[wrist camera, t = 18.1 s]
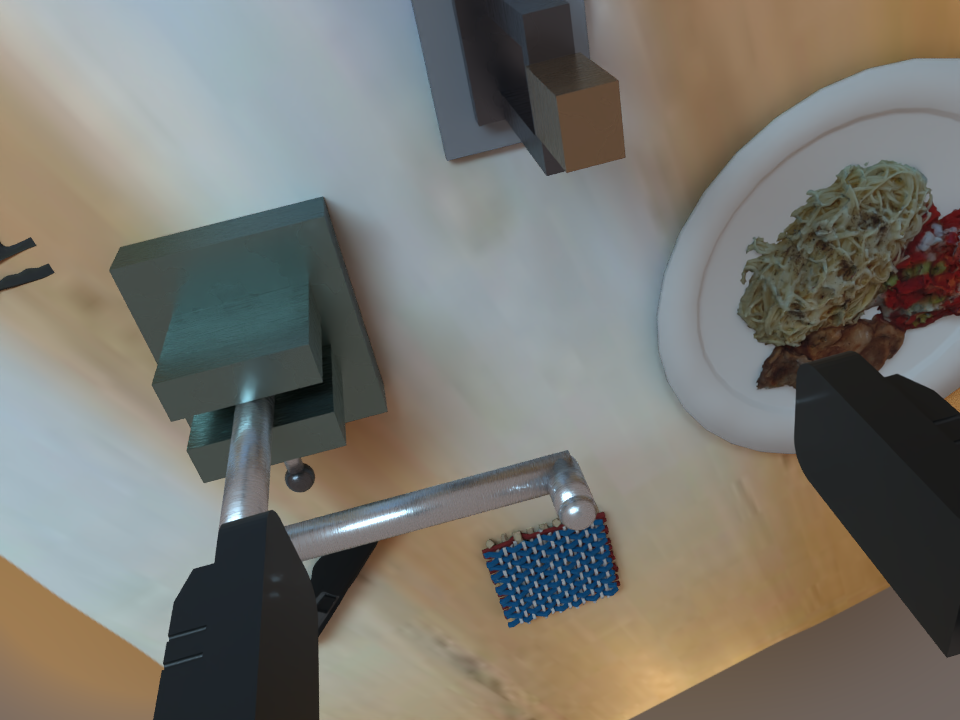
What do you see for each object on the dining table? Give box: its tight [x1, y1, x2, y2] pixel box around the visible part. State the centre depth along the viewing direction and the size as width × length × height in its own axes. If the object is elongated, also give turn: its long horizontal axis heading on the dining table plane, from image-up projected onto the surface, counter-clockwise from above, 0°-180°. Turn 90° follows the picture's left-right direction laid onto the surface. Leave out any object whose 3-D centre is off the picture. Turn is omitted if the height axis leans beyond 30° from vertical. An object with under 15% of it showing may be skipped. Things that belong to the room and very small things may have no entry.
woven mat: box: [482, 505, 620, 628], centre depth 66 cm, size 10×11×2 cm
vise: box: [109, 197, 597, 561], centre depth 40 cm, size 16×21×23 cm
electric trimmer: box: [311, 541, 378, 637], centre depth 62 cm, size 4×15×3 cm, turn 147°
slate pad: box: [411, 0, 590, 161], centre depth 43 cm, size 11×9×1 cm
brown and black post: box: [451, 0, 625, 176], centre depth 36 cm, size 7×5×15 cm
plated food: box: [657, 58, 960, 454], centre depth 55 cm, size 30×30×3 cm
